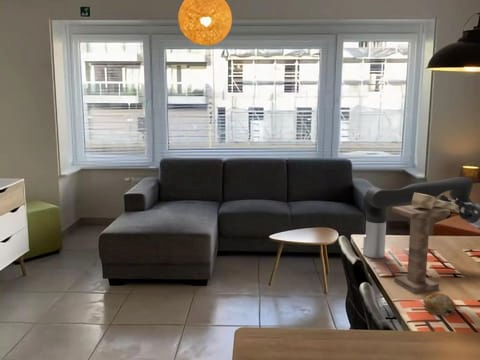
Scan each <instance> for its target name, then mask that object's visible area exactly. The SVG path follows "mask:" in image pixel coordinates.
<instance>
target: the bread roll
mask: <svg viewBox="0 0 480 360" xmlns="http://www.w3.org/2000/svg"><path fill="white" fill-rule="evenodd" d="M422 303H423V304H424V305H423V307H424V308H425V310H426V311H427V310H428V311H429V313H430V312H431V314H434V315H436V316H441V317H442V316H445V317H447V316H450V315H452V314H453V313H454V312H455V310H456V306H455V302H454V301H453V300H452V299H451V297H450V296H449V295H447V294H444V293H441V292H435V293H430V294H428V295H427V296H425V298H424V299H423V301H422ZM428 311H427V312H428Z"/></svg>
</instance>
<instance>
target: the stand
mask: <svg viewBox="0 0 480 360" xmlns="http://www.w3.org/2000/svg"><path fill="white" fill-rule="evenodd" d="M391 213H393V214H394V213H395V214H396V215H400V216H402V217H406V218H408V219H409V220H410V223H409V224H410V226H409V243H408V258H407V261H408V262H407V271H406V272H407V273H406V274H407V275H400V276H394V281H393V282H394V283H396V284H397V285H400V287H402V288H404V289H406V290H408V291H409V292H411V293H413V294H415V293H421V292H427V291H435V290H438V289H439V287H440V284H439V283H438V282H437V281H434V280H432V279H430V278H428V277H427V267H428V266H427V265H428V251H429V237H430V235H429V234H430V224H431V223H430V222H431V218H433V217H435V218H437V217H444V216H450V215H451V209H448V208H443V207H437V206H432V209H427V208H421V207H417V206H414V205H411V204H407V205H400V206H399V205H396V206H391Z"/></svg>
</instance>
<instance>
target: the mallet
mask: <svg viewBox="0 0 480 360" xmlns="http://www.w3.org/2000/svg"><path fill="white" fill-rule="evenodd" d="M410 205H414V206H417V207H421V208H427V209H432V206H437V207H442V208H445V209H449V210H455V211H456V210H460V211H461V209H459V206H458V205H456V204H455V203H451V202H445V201H441V200H440V199H436V198H435V197H433V196H430V195H426V194H420V193H415V192H414V195H413V199H412V203H411V204H410Z"/></svg>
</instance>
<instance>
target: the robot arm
mask: <svg viewBox="0 0 480 360" xmlns="http://www.w3.org/2000/svg"><path fill="white" fill-rule="evenodd" d="M473 186H474V181H473V180H472V179H471V178H469V177H465V176H456V177H451V178H447V179H441V180H437V181H436V180H435V181H429V182H428V181H427V182H420V183H419V182H418V183H411V184H409V185H406V186H404V187H401V188H399V189H383V188H381V187H378V186H372V187H369V188H368V189H367V191H366V193H365V196H364V213H365V217H366V219H365V235H363V243H362V245H363V247H362V255H363V256H365V257H366V258H369V259H370V258H371V259H383V258H384V257H386V256H385V253H386V252H385V251H386V250H385V249H386V237H387V236H386V234H387V215H386V213H385V211H384V210H385V208H386V209H387V208H390V207H396V206H399V205H400V206H401V205H411V203H412V199H413V195H414V192H415V193H420V194H426V195H430V196H433V197H435V198H434V199H436V198H438V197H439V198H438V200H440V201H445V202H451V203H455V204H456V205H458V206H459V209H461V211H460V210H455V211H456V212H457V213H458V215H459V217H460V219H462V220H464V221H465V222H466V223H468V224H470V225H471V226H474V227H475V228H477V229H479V230H480V203H477V202H473V201H472V199H471V198H470V196H471V193H472V190H473ZM446 192H449V197H450V198H449V197H447V196H445V195H444V193H446Z"/></svg>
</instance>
